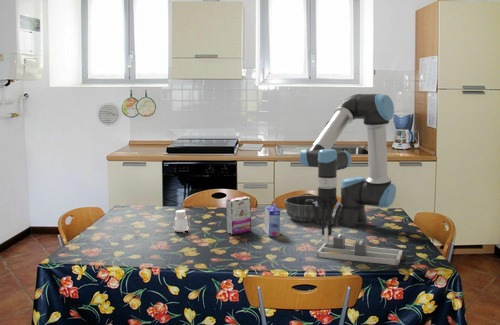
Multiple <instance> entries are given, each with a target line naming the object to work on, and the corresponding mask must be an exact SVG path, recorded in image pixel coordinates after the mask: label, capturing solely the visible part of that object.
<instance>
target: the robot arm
mask: <svg viewBox="0 0 500 325" xmlns="http://www.w3.org/2000/svg"><path fill="white" fill-rule="evenodd" d="M394 113H395V107H394V103H393V100H392V98H391V97H390V96H389V95H387V94H382V93H363V94H362V93H357V94H356V93H355V94H352V95H351V96H348V97H347V98H345V99H344V100H343V101H341V102H340V103H339V104H338V106H336V108H335V109H334V111H333V116H332V117H331V118H330V120H329V121H328V122H327V124H326V125H325V127H324V128H323V129H322V131H321V133H320V134H318V135H319V136H318V137H317V138H316V140H315V141H314V142H313V144H312V145H311V146H310V148H304V149H301V151H300V153H299V156H298V157H299V158H298V159H299V160H298V161H299V162H300V164H301V165H302V166H305V167H309V168H310V167H311V168H318V169H317V172H318V173H317V186H318V188H317V195H318V198H317V201H316V202H313V203H312V204H311V205H312V207H313V208H314V212H315V216H316V220H317V222H316V224H317V227H318V226H319V227H321V235H322V236H323V238H324V239H323V241H324V242H323V244H324V243H325V244H328V243H330V236H331V235H332V233H333V230H332V229H333V228H335V227H336V226H337V225H339V226H341V227H346V228H363V227H367V226H368V225H369V219H368V215H367V211H366V206H370V207H375V208H376V207H377V208H380V209H381V208H389V207H391V206H392V204H393V203H394V201H395V198H396V194H397V187H396V185H395V184H394V183H392V179H391V177H390V176H389V175H388V147H387V126H388V125H389V124H390V120H392V119H393V117H394ZM354 120H363V125H364V126H365V127H366V132H367V152H368V155H367V158H368V177H367V178H365V177H364V176H357V177H356V176H354V177H353V176H352V177H347V178H344V179H342V181H341V185H340V202H339V201H338V198H337V185H338V184H337V176H338V175H337V171H340V170H341V171H342V170H345V169H347V168H348V167H350V166H351V165H352V162H353V157H352V154H351V153H350V152H348V151H347V150H339V151H337V150H336V149H334V148H332V147H334V145H335V143H336V142H337V140H338V139H339V138H340V135H341V134H342V133H343V132H344V130H345V129H346V127H347V126H348V125H351V123H352V122H353V121H354ZM318 204H319V205H320V207H321V208H322V221H321V218H320V213H319V209H318ZM335 206H336V210H335V213H334V217H333V214H332V208H333V207H334V208H335ZM326 209H328V219H326Z"/></svg>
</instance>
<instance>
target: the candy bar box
mask: <svg viewBox="0 0 500 325" xmlns="http://www.w3.org/2000/svg"><path fill="white" fill-rule="evenodd" d="M251 203H252V202H251V197H249V196H240V197H239V196H238V197H235V198H228V199H226V200H225V204H226V208H225V209H226V232H228V233H227V234H229V233H231V234H230V235H232V234H235V235H238V234H237V233H240V234H243V233H242V232H244V233H248V232H247V231H249V232H251V231H252V213H251V212H252V206H251V205H252V204H251Z"/></svg>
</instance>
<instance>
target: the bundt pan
mask: <svg viewBox="0 0 500 325" xmlns="http://www.w3.org/2000/svg"><path fill="white" fill-rule="evenodd" d="M317 198H318V194H316V195H314V194H313V195H311V194H308V195H307V194H305V195H304V194H303V195H295V196H289V197H287V198H285V199H284V200H283V202H284V204H285V209H286V213H287V214H286V215H287V216H289V217H290V218H291V219H293V220H295V221H297V222H309V223H312V222H316V223H317V220H316V216H315V212H314V208H313V207H312V205H311V204H312V203H313V202H316V201H317ZM318 209H319V213H320V218H321V222H322V208H321V207H320V205H319V204H318ZM334 210H335V206H334V207H333V208H332V215H333V213H334ZM326 220H328V209H326Z"/></svg>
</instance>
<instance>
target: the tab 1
mask: <svg viewBox="0 0 500 325" xmlns="http://www.w3.org/2000/svg"><path fill="white" fill-rule="evenodd" d="M332 240H333V242H332V243H333V248H337V249H345V245H346V235H342V234H341V233H339V234H336V235H334V237H333V238H332Z"/></svg>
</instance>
